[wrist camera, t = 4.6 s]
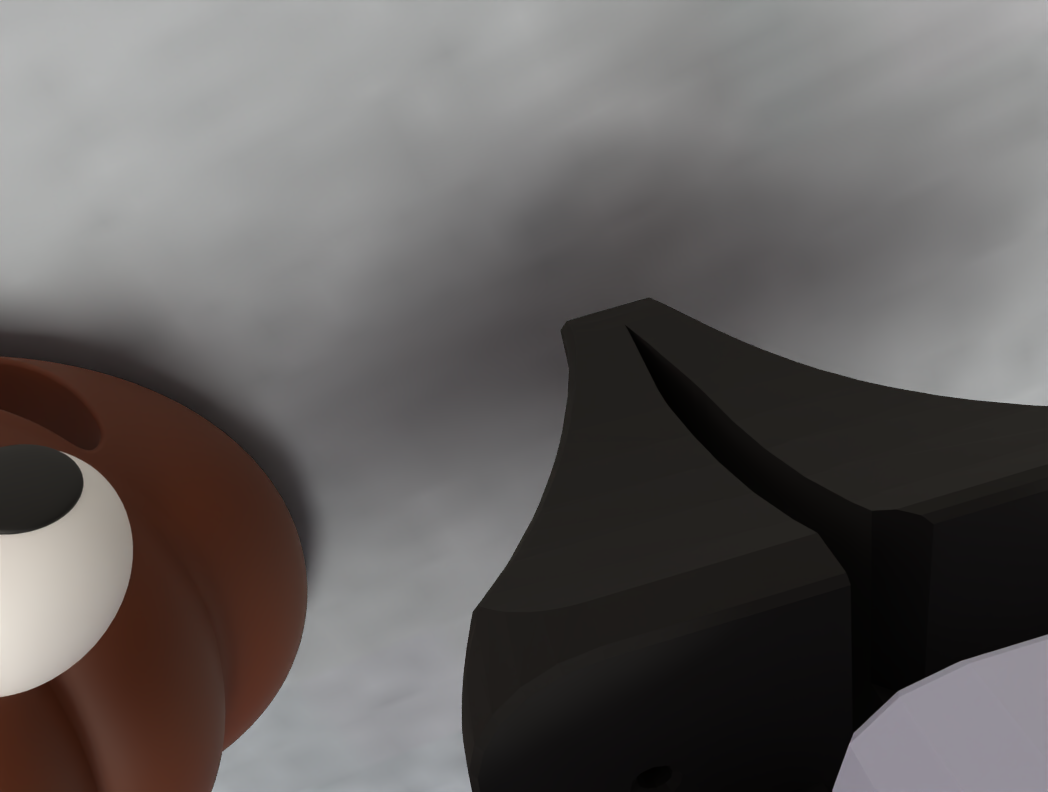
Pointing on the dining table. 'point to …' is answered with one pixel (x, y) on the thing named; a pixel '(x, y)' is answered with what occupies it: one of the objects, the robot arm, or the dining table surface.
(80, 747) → the poop emoji
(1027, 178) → the dining table surface
